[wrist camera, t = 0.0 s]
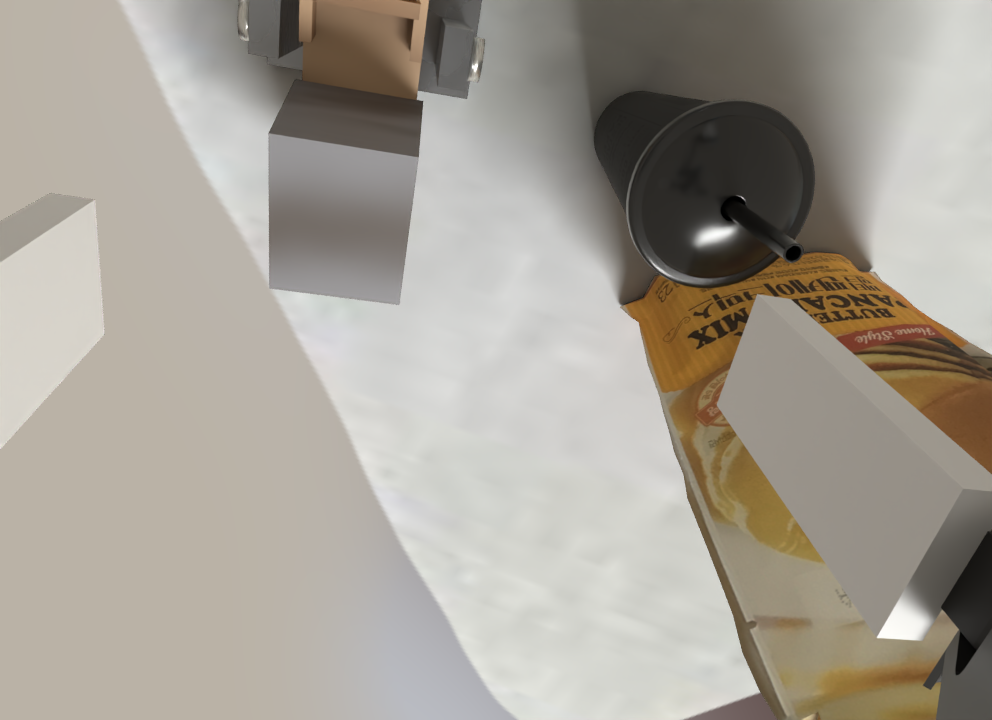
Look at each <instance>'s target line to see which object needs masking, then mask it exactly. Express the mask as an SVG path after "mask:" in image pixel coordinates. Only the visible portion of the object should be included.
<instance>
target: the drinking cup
mask: <svg viewBox="0 0 992 720" xmlns="http://www.w3.org/2000/svg"><path fill="white" fill-rule="evenodd" d="M594 143H595V150H596V153H597V156H598V158H599V160H600V162H601V164H602V166H603V168H604V170H605V172H606V174H607V176H608V178H609V180H610V182H611V184H612V186H613V188H614V190H615V192H616V194H617V196H618V198H619V200H620V202H621V205H622V207H623V209H624V211H625V213H626V215H627V223H628V228H629V232H630V235H631V238H632V240H633V243H634V245H635V246H636V248H637V250H638V252H639V253H640V255H641V256H642V258H643V259H644V260H645V261H646V262H647V264H648V265H649V266H650V267H651V268H652V269H654V270H655V271H656V272H657V273H659V274H660V275H661V276H663V277H665V278H666V279H668V280H670V281H672V282H675V283H677V284H680V285H684V286H688V287H693V288H718V287H724V286H729V285H733V284H736V283H739V282H742V281H744V280H746V279H749V278H751V277H753V276H755V275H756V274H758V273H760V272H761V271H763V270H764V269H766V268H767V267H769V266H770V265H771V264H772V263H774V262H775V261H776V260H777V259H778V258H779V257H781V258H782V259H784V260H785V261H786V262H788V263H794V262H797V261H798V260H800V259H801V257H802V256H803V252H804V250H803V247H802V246H801V245H800V244H799V243H797V242H796V241H795V238H796V237H797V235H798V234H799V232H800V230H801V229H802V227H803V225H804V223H805V221H806V218H807V216H808V213H809V210H810V207H811V204H812V200H813V194H814V185H815V172H814V164H813V159H812V155H811V152H810V149H809V146H808V144H807V142H806V140H805V138H804V136H803V135H802V133H801V132H800V130H799V129H798V128H797V127H796V126H795V124H794V123H793V122H792V121H791V120H789V119H788V118H787V117H786V116H785V115H783V114H782V113H780V112H779V111H777V110H775V109H773V108H771V107H769V106H766V105H764V104H761V103H758V102H754V101H749V100H741V99H728V100H719V101H714V102H709V101H703V100H696V99H690V98H683V97H677V96H671V95H664V94H658V93H651V92H644V91H638V92H631V93H628V94H625V95H623V96H620V97H619V98H617V99H616V100H614V101H613V102H612V103H611V104H610V105H609V106H608V107H607V108H606V109H605V110H604V112H603V113H602V115H601V116H600V118H599V120H598V123H597V126H596V129H595V136H594Z"/></svg>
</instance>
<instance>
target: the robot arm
mask: <svg viewBox="0 0 992 720" xmlns="http://www.w3.org/2000/svg"><path fill="white" fill-rule="evenodd" d="M103 335H104V319H103V305H102V290H101V276H100V263H99V248H98V235H97V221H96V206H95V199H88V198H81V197H74V196H66V195H60V194H52V193H49V194H47V195H46V196H44V197H42V198H40V199H39V200H37V201H35V202H33V203H31V204H30V205H28V206H26V207H25V208H23V209H21V210H19V211H17V212H16V213H14V214H12V215H10V216H8V217H7V218H5V219H3V220H1V221H0V449H1V448H2V447H3V446H4V445H5V443H6V442H7V441H8V440H9V439H10V438H11V437H12V436H13V435H14V434H15V432H16V431H17V430H18V429H19V428H20V427H21V426H22V425H23V424H24V423H25V421H26V420H27V419H28V418H29V417H30V416H31V415H32V414H33V413H34V411H35V410H36V409H37V408H38V407H39V406H40V405H41V404H42V403H43V402H44V401H45V399H46V398H47V397H48V396H49V395H50V394H51V393H52V392H53V391H54V390H55V388H56V387H57V386H58V385H59V384H60V383H61V382H62V381H63V380H64V378H65V377H66V376H67V375H68V374H69V373H70V372H71V371H72V370H73V368H74V367H75V366H76V365H77V364H78V363H79V362H80V361H81V360H82V359H83V357H84V356H85V355H86V354H87V353H88V352H89V351H90V350H91V349H92V348H93V346H94V345H95V344H96V343H97V342H98V341H99V340H100V339H101V338H102V337H103ZM717 406H718V408H719V409H720V411H721V412H722V414H723V415H724V417H725V418H726V420H727V421H728V422H729V424H730V425H731V427H732V428H733V430H734V431H735V433H736V434H737V436H738V437H739V438H740V440H741V441H742V443H743V444H744V446H745V447H746V449H747V450H748V452H749V453H750V454H751V456H752V457H753V459H754V460H755V462H756V463H757V465H758V466H759V468H760V469H761V470H762V472H763V473H764V475H765V476H766V478H767V479H768V481H769V482H770V484H771V485H772V486H773V488H774V489H775V491H776V492H777V494H778V495H779V497H780V498H781V500H782V501H783V502H784V504H785V505H786V507H787V508H788V510H789V511H790V513H791V514H792V516H793V517H794V518H795V520H796V521H797V523H798V524H799V526H800V527H801V529H802V530H803V532H804V533H805V534H806V536H807V537H808V539H809V540H810V542H811V543H812V545H813V546H814V548H815V549H816V551H817V552H818V553H819V555H820V556H821V558H822V559H823V561H824V562H825V564H826V565H827V567H828V568H829V569H830V571H831V572H832V574H833V575H834V577H835V578H836V580H837V581H838V583H839V584H840V585H841V587H842V588H843V590H844V591H845V593H846V594H847V596H848V597H849V599H850V600H851V601H852V603H853V604H854V606H855V607H856V609H857V610H858V612H859V613H860V615H861V616H862V617H863V619H864V620H865V622H866V623H867V625H868V626H869V628H870V629H871V631H872V632H873V633H874V635H875V636H876V638H886V639H901V640H917V641H923V639H924V638H925V636H926V635H927V633H928V631H929V630H930V628H931V627H932V625H933V623H934V622H935V620H936V618H937V617H938V615H939V614H940V612H941V610H943V611H944V612H945V613H946V615H947V616H948V617H949V618H950V619H951V621H952V622H953V623H954V624H955V625H956V627H957V628H958V629H959V630H958V632H957V633H956V635H955V636H954V638H953V639H952V641H951V642H950V644H949V645H948V647H947V649H946V650H945V652H944V653H943V655H942V656H941V658H940V659H939V661H938V662H937V664H936V666H935V667H934V669H933V670H932V672H931V673H930V675H929V676H928V678H927V680H926V681H925V683H924V684H923V686H924V687H926V688H928V689H930V690H931V689H932V688H933V686H934V685H935V684H936V683H938V682H941V687H940V694H939V700H938V707H937V714H936V720H992V474H991V473H990V472H988V471H987V470H986V469H985V468H984V467H983V466H982V465H980V464H979V463H978V462H977V461H976V460H975V459H974V458H972V457H971V456H970V455H969V454H968V453H967V452H966V451H964V450H963V449H962V448H961V447H960V446H959V445H957V444H956V443H955V442H954V441H953V440H952V439H951V438H949V437H948V436H947V435H946V434H945V433H944V432H943V431H941V430H940V429H939V428H938V427H937V426H936V425H935V424H933V423H932V422H931V421H930V420H929V419H928V418H926V417H925V416H924V415H923V414H922V413H921V412H920V411H918V410H917V409H916V408H915V407H914V406H913V405H912V404H910V403H909V402H908V401H907V400H906V399H905V398H904V397H902V396H901V395H900V394H899V393H898V392H897V391H895V390H894V389H893V388H892V387H891V386H890V385H889V384H887V383H886V382H885V381H884V380H883V379H882V378H881V377H879V376H878V375H877V374H876V373H875V372H874V371H873V370H871V369H870V368H869V367H868V366H867V365H866V364H864V363H863V362H862V361H861V360H860V359H859V358H858V357H856V356H855V355H854V354H853V353H852V352H851V351H850V350H848V349H847V348H846V347H845V346H844V345H843V344H842V343H840V342H839V341H838V340H837V339H836V338H835V337H833V336H832V335H831V334H830V333H829V332H828V331H827V330H825V329H824V328H823V327H822V326H821V325H820V324H819V323H817V322H816V321H815V320H814V319H813V318H812V317H811V316H809V315H808V314H807V313H806V312H805V311H804V310H802V309H801V308H800V307H799V306H798V305H797V304H796V303H794V302H793V301H792V300H791V299H787V298H780V297H773V296H766V295H759V294H757V296H756V299H755V302H754V304H753V307H752V310H751V313H750V315H749V318H748V321H747V323H746V326H745V329H744V332H743V334H742V337H741V340H740V342H739V345H738V348H737V351H736V353H735V356H734V359H733V362H732V364H731V367H730V370H729V372H728V375H727V378H726V381H725V383H724V386H723V389H722V392H721V394H720V397H719V400H718V402H717Z"/></svg>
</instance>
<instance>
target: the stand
mask: <svg viewBox="0 0 992 720" xmlns="http://www.w3.org/2000/svg"><path fill="white" fill-rule="evenodd" d="M299 1H300V0H239V5H238V17H237V22H238V33H239V37H240V39H241V40H244V41H249V43H248V53H249V54H254V55H260V56H266V57H267V64H269V65H275V66H281V67H286V68H292V69H298V70H302V69H303V42H301V41H299ZM481 3H482V0H429V4H428V12H427V20H426V28H425V36H424V44H423V53H422V61H421V67H420V75H419V83H418V91H424V92H430V93H435V94H441V95H447V96H452V97H458V98H464V99H467V96H468V89H469V82H470V81H473V82H478V81H479V78H480V74H481V69H482V63H483V55H484V46H485V39H482V38H477V37H476V36H477V29H478V23H479V16H480V10H481Z"/></svg>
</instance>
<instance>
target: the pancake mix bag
mask: <svg viewBox="0 0 992 720" xmlns="http://www.w3.org/2000/svg"><path fill="white" fill-rule="evenodd" d="M757 294H759V295H766V296H773V297H780V298H787V299H791V300H792V301H793V302H794V303H796V304H797V305H798V306H799V307H800V308H801V309H802V310H804V311H805V312H806V313H807V314H808V315H809V316H811V317H812V318H813V319H814V320H815V321H816V322H817V323H819V324H820V325H821V326H822V327H823V328H824V329H825V330H827V331H828V332H829V333H830V334H831V335H832V336H833V337H835V338H836V339H837V340H838V341H839V342H840V343H842V344H843V345H844V346H845V347H846V348H847V349H848V350H850V351H851V352H852V353H853V354H854V355H855V356H856V357H858V358H859V359H860V360H861V361H862V362H863V363H864V364H866V365H867V366H868V367H869V368H870V369H871V370H873V371H874V372H875V373H876V374H877V375H878V376H879V377H881V378H882V379H883V380H884V381H885V382H886V383H887V384H889V385H890V386H891V387H892V388H893V389H894V390H895V391H897V392H898V393H899V394H900V395H901V396H902V397H904V398H905V399H906V400H907V401H908V402H909V403H910V404H912V405H913V406H914V407H915V408H916V409H917V410H918V411H920V412H921V413H922V414H923V415H924V416H925V417H926V418H928V419H929V420H930V421H931V422H932V423H933V424H935V425H936V426H937V427H938V428H939V429H940V430H941V431H943V432H944V433H945V434H946V435H947V436H948V437H949V438H951V439H952V440H953V441H954V442H955V443H956V444H957V445H959V446H960V447H961V448H962V449H963V450H964V451H966V452H967V453H968V454H969V455H970V456H971V457H972V458H974V459H975V460H976V461H977V462H978V463H979V464H980V465H982V466H983V467H984V468H985V469H986V470H987V471H988V472H990V473H991V474H992V355H991V354H989V353H987V352H986V351H984V350H982V349H980V348H979V347H977V346H975V345H973V344H971V343H970V342H968V341H967V340H965V339H964V338H962V337H961V336H959V335H958V334H956V333H955V332H953V331H952V330H950V329H948V328H947V327H945V326H943V325H941V324H940V323H938V322H936V321H934V320H932V319H931V318H929V317H928V316H927V315H925V314H924V313H922V312H921V311H919V310H918V309H917V308H915V307H914V306H913V305H912V304H911V303H910V302H909V301H908V300H907V299H905V298H904V297H903V296H902V295H901V294H900V293H898V292H897V291H895V290H894V289H893V288H891V287H890V286H888V285H887V284H886V283H884V282H883V281H882V280H881V279H880V278H879V276H878V275H877V274H876V273H875V272H862V271H859V270H858V269H857V268H856V267H855V266H854V264H853V263H852V262H851V261H850V260H849V259H847V258H845V257H844V256H842V255H840V254H835V253H821V252H812V253H805V254H803V256H802V257H801V259H800V260H798V261H797V262H794V263H788V262H786V261H785V260H784V259H782V258H781V257H779V258H778V259H777V260H776V261H775V262H774V263H772V264H771V265H770V266H769V267H767V268H766V269H764V270H763V271H761V272H760V273H758V274H756V275H755V276H753V277H751V278H749V279H746V280H744V281H742V282H739V283H736V284H733V285H729V286H724V287H718V288H693V287H688V286H684V285H680V284H677V283H675V282H672V281H670V280H668V279H666V278H665V277H663V276H661V275H657V276H654V278H653V280H652V282H651V284H650V286H649V288H648V290H647V292H646V293H645V295H644V297H643V298H641V299H639V300H636V301H633V302H631V303H628V304H626V305H623V306H621V308H622V309H623V310H624V311H625V312H626V313H627V314H628V315H629V316H630V317H632V318H633V319H635V320H636V321H638V322H639V326H640V331H641V336H642V340H643V344H644V348H645V353H646V358H647V363H648V366H649V368H650V371H651V374H652V377H653V380H654V382H655V385H656V388H657V390H658V393H659V396H660V400H661V405H662V409H663V412H664V416H665V419H666V422H667V426H668V429H669V433H670V437H671V441H672V445H673V449H674V452H675V455H676V457H677V460H678V462H679V464H680V467H681V469H682V472H683V474H684V480H685V486H686V492H687V498H688V501H689V503H690V506H691V508H692V511H693V513H694V516H695V518H696V521H697V523H698V526H699V528H700V531H701V533H702V536H703V538H704V541H705V543H706V546H707V548H708V551H709V553H710V556H711V558H712V561H713V564H714V566H715V569H716V571H717V574H718V577H719V579H720V582H721V585H722V587H723V590H724V592H725V595H726V598H727V600H728V603H729V606H730V608H731V611H732V614H733V617H734V621H735V625H736V629H737V633H738V636H739V640H740V644H741V648H742V652H743V655H744V657H745V659H746V661H747V664H748V666H749V668H750V670H751V673H752V675H753V677H754V679H755V681H756V684H757V686H758V688H759V690H760V692H761V694H762V695H763V697H764V699H765V700H766V702H767V703H768V705H769V707H770V709H771V710H772V712H773V713H774V715H775V717H776V718H777V720H936V714H937V707H938V700H939V694H940V687H941V682H938V683H936V684H935V685H934V686H933V688H932V689H931V690H930V689H928V688H926V687H924V686H923V684H924V683H925V681H926V680H927V678H928V676H929V675H930V673H931V672H932V670H933V669H934V667H935V666H936V664H937V662H938V661H939V659H940V658H941V656H942V655H943V653H944V652H945V650H946V649H947V647H948V645H949V644H950V642H951V641H952V639H953V638H954V636H955V635H956V633H957V632H958V630H959V629H958V628H957V627H956V625H955V624H954V623H953V622H952V621H951V619H950V618H949V617H948V616H947V615H946V613H945V612H944V611H943V610H941V612H940V614H939V615H938V617H937V618H936V620H935V622H934V623H933V625H932V627H931V628H930V630H929V631H928V633H927V635H926V636H925V638H924V639H923V641H917V640H901V639H886V638H876V636H875V635H874V633H873V632H872V631H871V629H870V628H869V626H868V625H867V623H866V622H865V620H864V619H863V617H862V616H861V615H860V613H859V612H858V610H857V609H856V607H855V606H854V604H853V603H852V601H851V600H850V599H849V597H848V596H847V594H846V593H845V591H844V590H843V588H842V587H841V585H840V584H839V583H838V581H837V580H836V578H835V577H834V575H833V574H832V572H831V571H830V569H829V568H828V567H827V565H826V564H825V562H824V561H823V559H822V558H821V556H820V555H819V553H818V552H817V551H816V549H815V548H814V546H813V545H812V543H811V542H810V540H809V539H808V537H807V536H806V534H805V533H804V532H803V530H802V529H801V527H800V526H799V524H798V523H797V521H796V520H795V518H794V517H793V516H792V514H791V513H790V511H789V510H788V508H787V507H786V505H785V504H784V502H783V501H782V500H781V498H780V497H779V495H778V494H777V492H776V491H775V489H774V488H773V486H772V485H771V484H770V482H769V481H768V479H767V478H766V476H765V475H764V473H763V472H762V470H761V469H760V468H759V466H758V465H757V463H756V462H755V460H754V459H753V457H752V456H751V454H750V453H749V452H748V450H747V449H746V447H745V446H744V444H743V443H742V441H741V440H740V438H739V437H738V436H737V434H736V433H735V431H734V430H733V428H732V427H731V425H730V424H729V422H728V421H727V420H726V418H725V417H724V415H723V414H722V412H721V411H720V409H719V408H718V406H717V402H718V400H719V397H720V394H721V392H722V389H723V386H724V383H725V381H726V378H727V375H728V372H729V370H730V367H731V364H732V362H733V359H734V356H735V353H736V351H737V348H738V345H739V342H740V340H741V337H742V334H743V332H744V329H745V326H746V323H747V321H748V318H749V315H750V313H751V310H752V307H753V304H754V302H755V299H756V296H757Z"/></svg>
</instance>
